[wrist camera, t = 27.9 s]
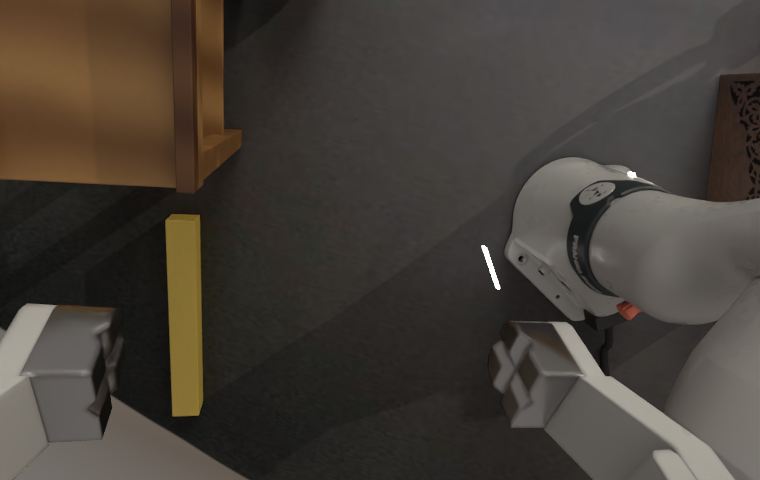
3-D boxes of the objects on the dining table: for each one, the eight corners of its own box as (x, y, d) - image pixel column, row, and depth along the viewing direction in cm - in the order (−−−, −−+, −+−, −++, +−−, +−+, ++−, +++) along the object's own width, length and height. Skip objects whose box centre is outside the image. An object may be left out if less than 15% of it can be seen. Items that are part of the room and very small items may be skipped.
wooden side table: (242, 148, 54) (194, 193, 28) (125, 140, 52) (-47, 182, 26) (243, -22, 49) (187, -157, 23) (115, -38, 47) (-105, -207, 21)
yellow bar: (203, 401, 61) (198, 415, 58) (177, 401, 61) (172, 416, 58) (200, 214, 55) (194, 221, 52) (171, 213, 54) (165, 219, 52)
